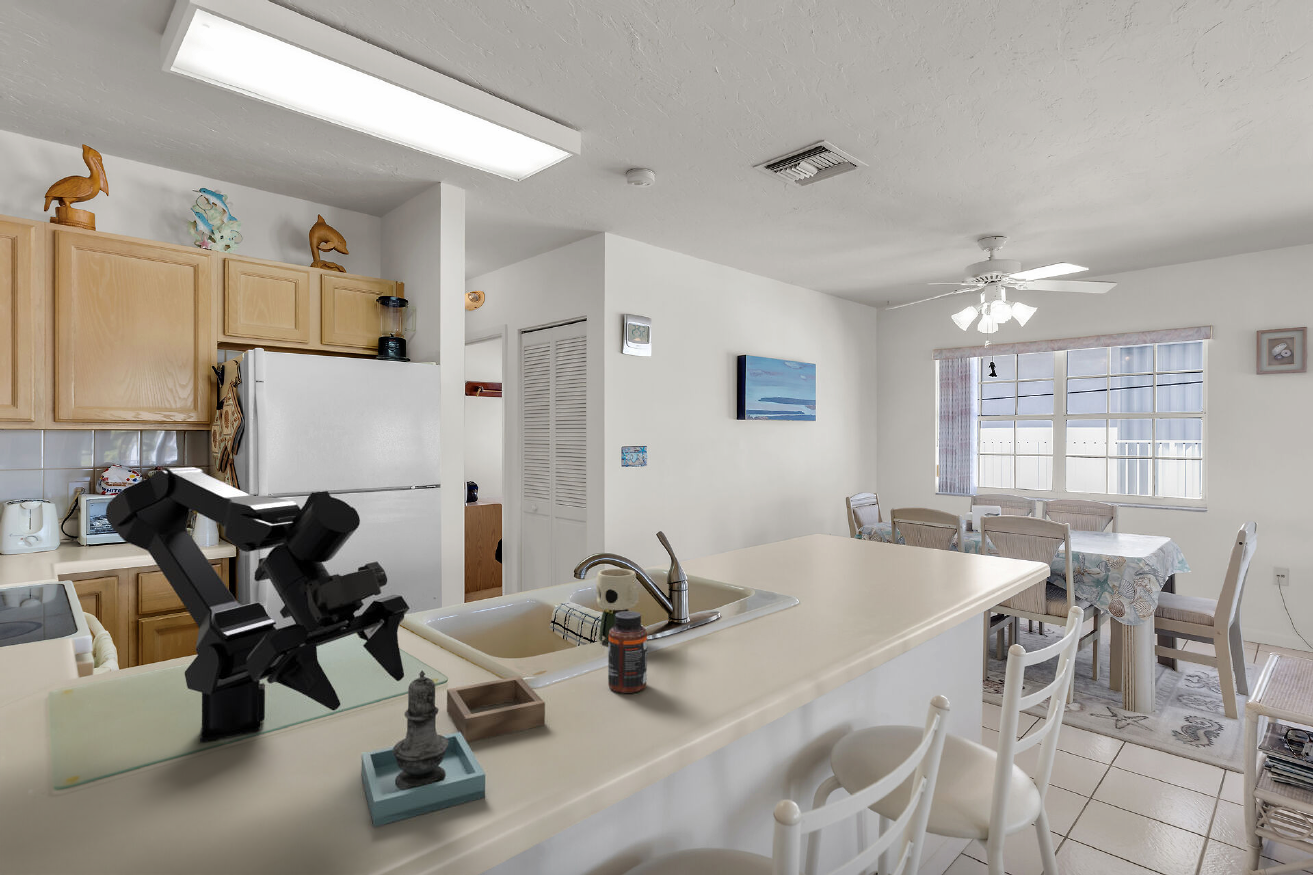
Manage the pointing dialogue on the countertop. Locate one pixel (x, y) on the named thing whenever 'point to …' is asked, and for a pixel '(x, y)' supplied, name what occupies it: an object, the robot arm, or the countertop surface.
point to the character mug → (615, 596)
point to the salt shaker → (420, 739)
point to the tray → (399, 804)
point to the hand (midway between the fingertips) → (371, 692)
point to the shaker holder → (499, 719)
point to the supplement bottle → (627, 653)
